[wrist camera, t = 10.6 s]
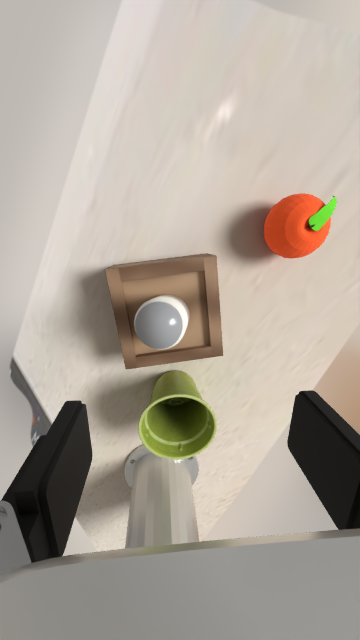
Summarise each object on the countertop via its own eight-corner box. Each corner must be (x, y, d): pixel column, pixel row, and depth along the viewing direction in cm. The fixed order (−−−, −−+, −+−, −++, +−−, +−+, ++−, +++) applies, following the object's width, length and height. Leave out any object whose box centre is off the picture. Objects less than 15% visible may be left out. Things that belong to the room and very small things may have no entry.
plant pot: (147, 417, 39) (144, 464, 31) (138, 363, 36) (132, 400, 28) (206, 409, 39) (218, 454, 31) (202, 356, 36) (215, 390, 28)
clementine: (293, 178, 30) (331, 161, 23) (324, 222, 32) (368, 217, 25) (243, 228, 31) (267, 225, 25) (276, 267, 33) (306, 274, 27)
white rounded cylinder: (196, 305, 28) (194, 312, 22) (179, 343, 29) (172, 360, 23) (156, 286, 28) (143, 289, 22) (140, 325, 29) (124, 338, 23)
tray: (213, 338, 36) (223, 355, 31) (131, 349, 36) (125, 369, 30) (206, 253, 32) (216, 256, 27) (114, 264, 32) (105, 269, 26)
